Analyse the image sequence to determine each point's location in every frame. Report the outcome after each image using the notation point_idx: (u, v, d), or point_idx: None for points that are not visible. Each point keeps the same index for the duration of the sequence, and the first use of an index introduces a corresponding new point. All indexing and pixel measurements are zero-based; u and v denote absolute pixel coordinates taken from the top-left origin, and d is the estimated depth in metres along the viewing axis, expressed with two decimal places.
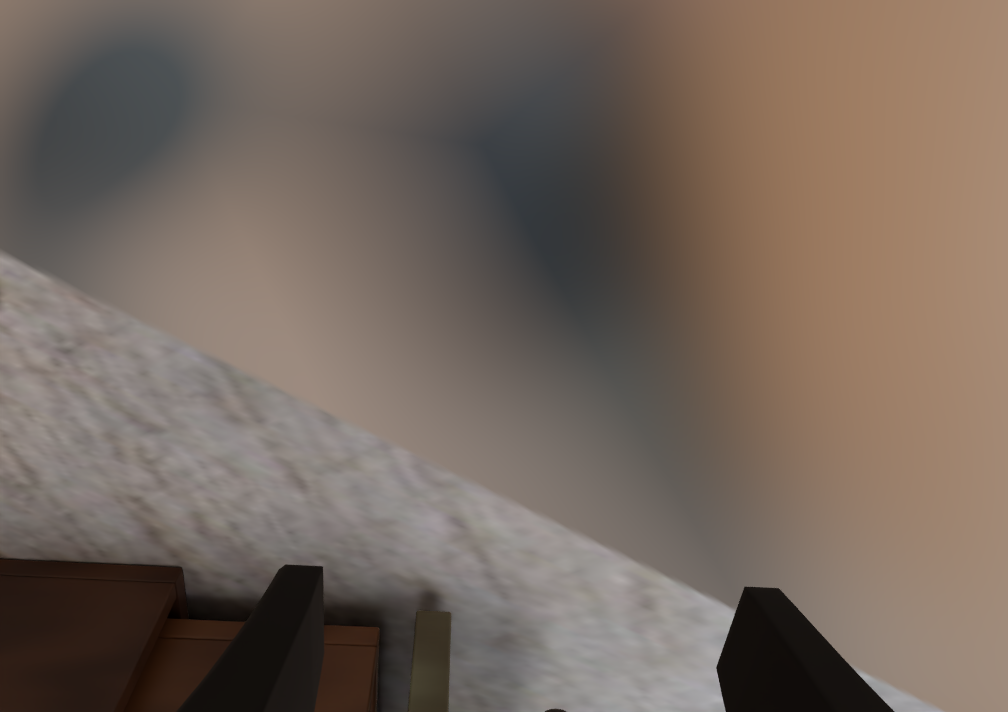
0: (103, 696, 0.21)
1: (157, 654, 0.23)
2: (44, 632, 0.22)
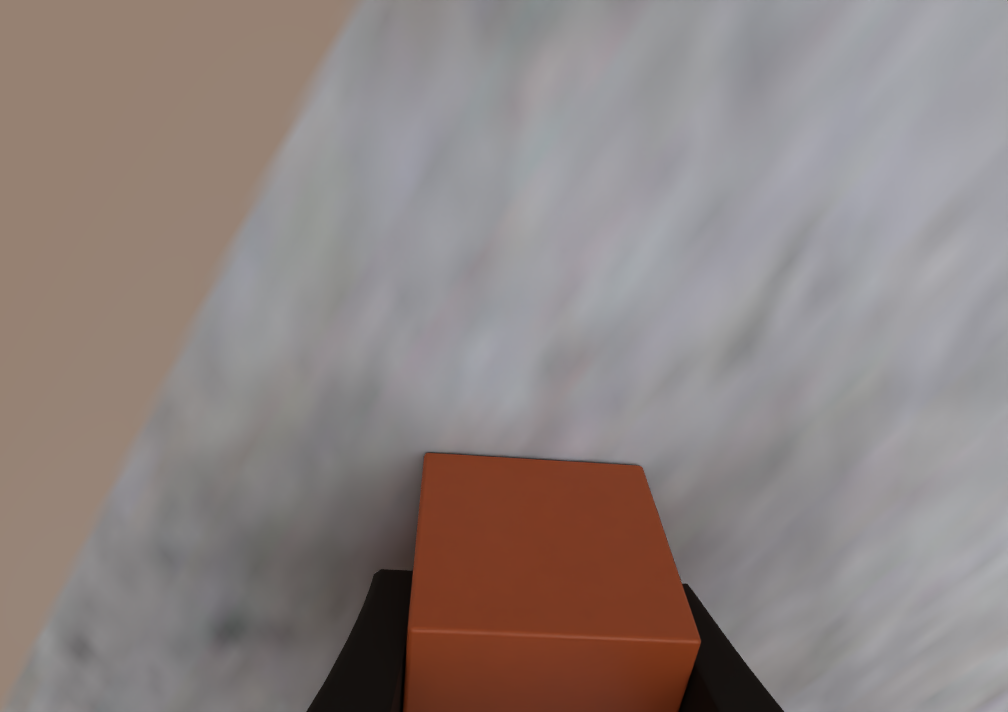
0: None
1: None
2: None
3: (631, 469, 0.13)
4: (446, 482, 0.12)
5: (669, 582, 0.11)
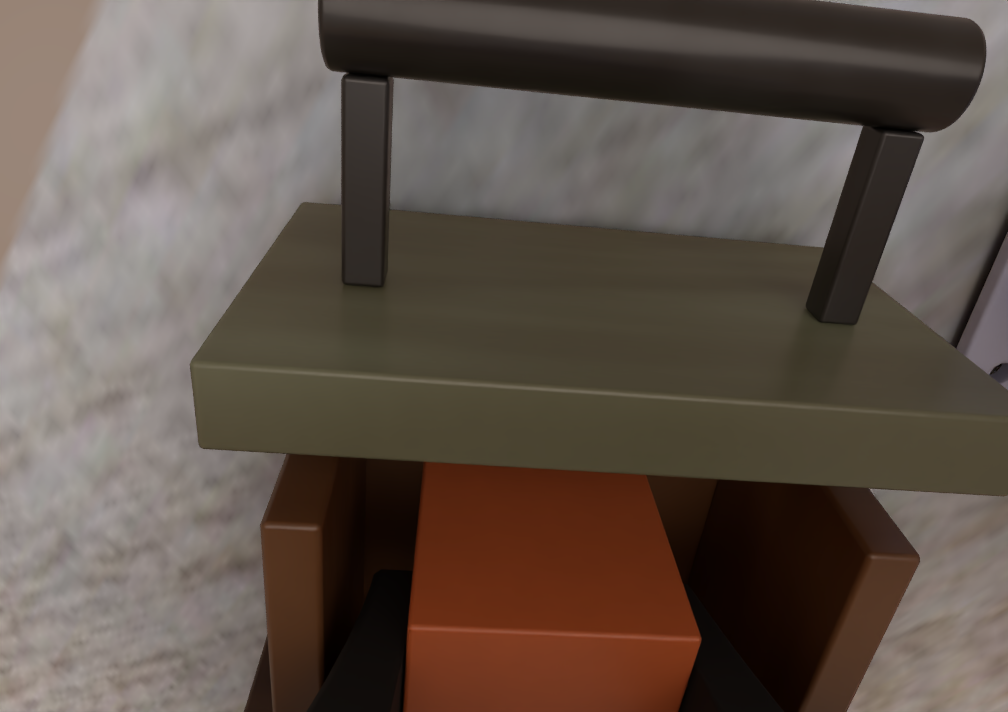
0: None
1: None
2: None
3: None
4: (447, 481, 0.12)
5: (669, 580, 0.11)
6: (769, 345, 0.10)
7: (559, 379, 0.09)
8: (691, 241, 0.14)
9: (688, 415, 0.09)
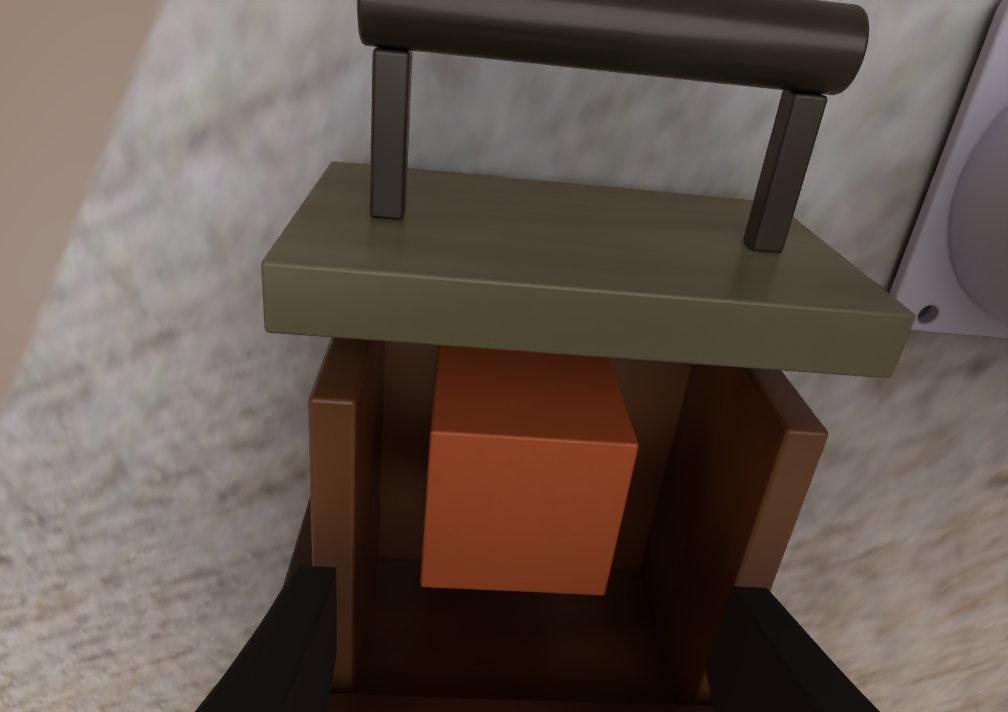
0: None
1: None
2: None
3: None
4: (455, 354, 0.16)
5: (619, 413, 0.15)
6: (707, 264, 0.13)
7: (539, 279, 0.11)
8: (656, 195, 0.16)
9: (639, 307, 0.11)
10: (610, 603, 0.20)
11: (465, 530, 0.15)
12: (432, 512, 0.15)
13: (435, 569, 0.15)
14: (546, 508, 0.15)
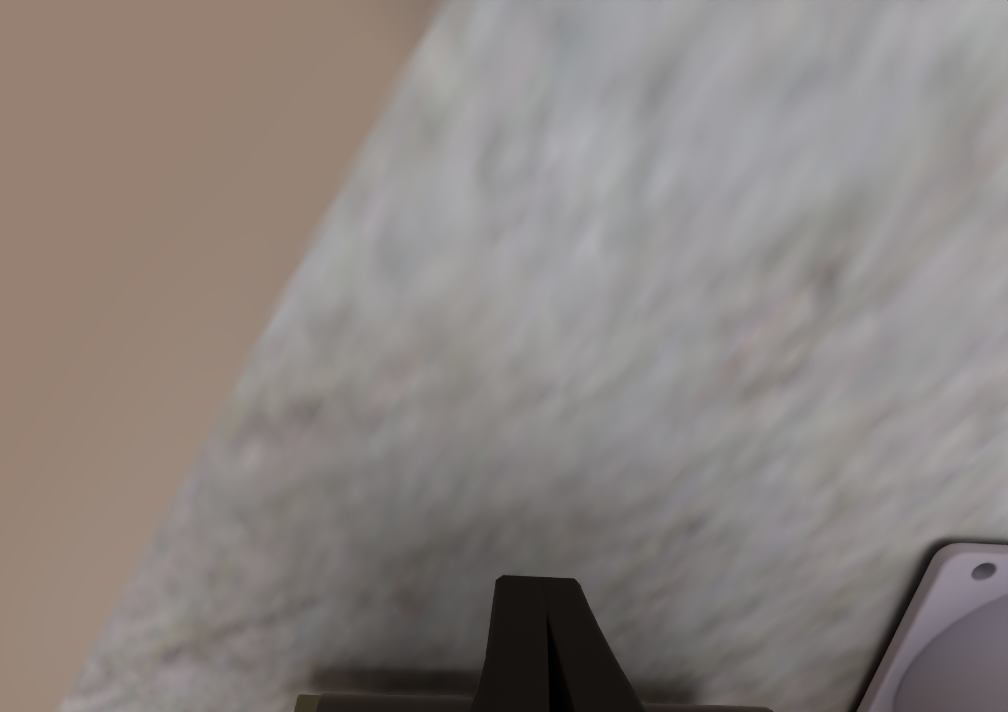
0: None
1: None
2: None
3: None
4: None
5: None
6: None
7: None
8: None
9: None
10: None
11: None
12: None
13: None
14: None
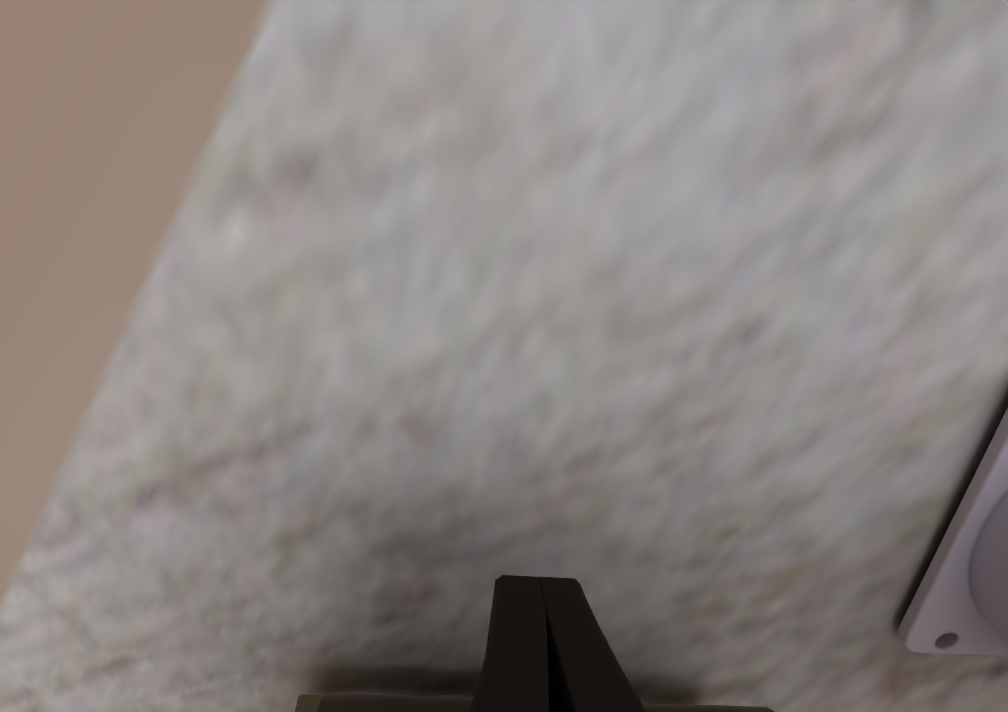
0: None
1: None
2: None
3: None
4: None
5: None
6: None
7: None
8: None
9: None
10: None
11: None
12: None
13: None
14: None
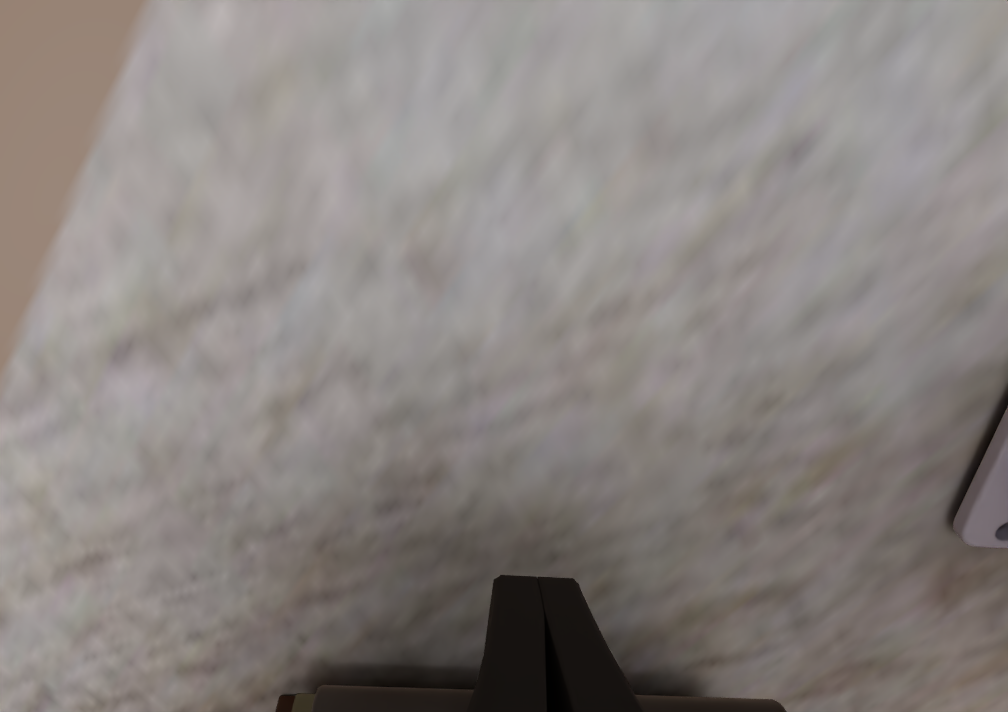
0: None
1: None
2: None
3: None
4: None
5: None
6: None
7: None
8: None
9: None
10: None
11: None
12: None
13: None
14: None
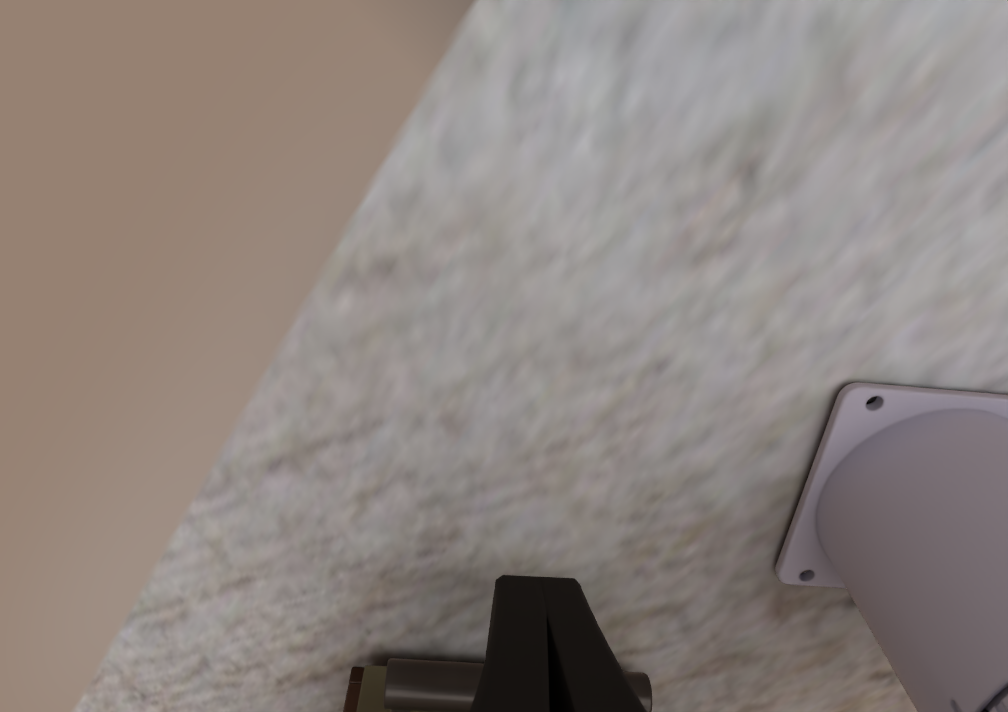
0: None
1: None
2: None
3: None
4: None
5: None
6: None
7: None
8: None
9: None
10: None
11: None
12: None
13: None
14: None
